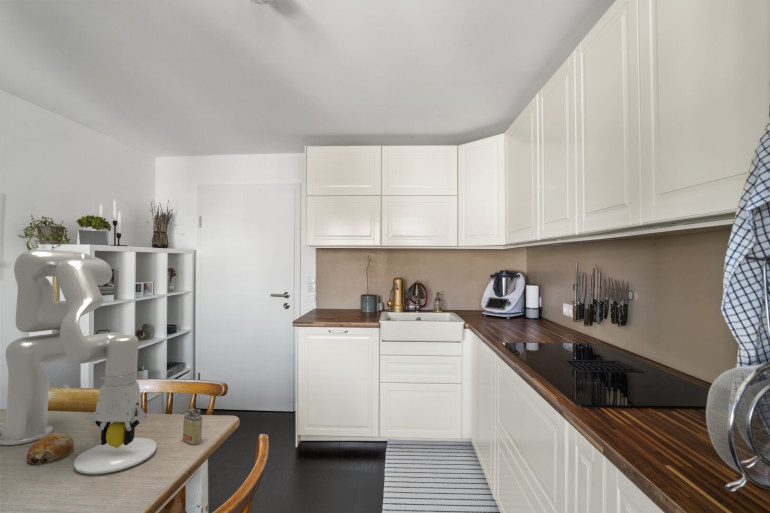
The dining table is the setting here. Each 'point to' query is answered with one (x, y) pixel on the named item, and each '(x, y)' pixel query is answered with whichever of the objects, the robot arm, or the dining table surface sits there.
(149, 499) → the dining table surface
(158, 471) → the dining table surface
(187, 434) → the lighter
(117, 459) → the plate
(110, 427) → the lemon
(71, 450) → the bread roll
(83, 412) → the dining table surface
